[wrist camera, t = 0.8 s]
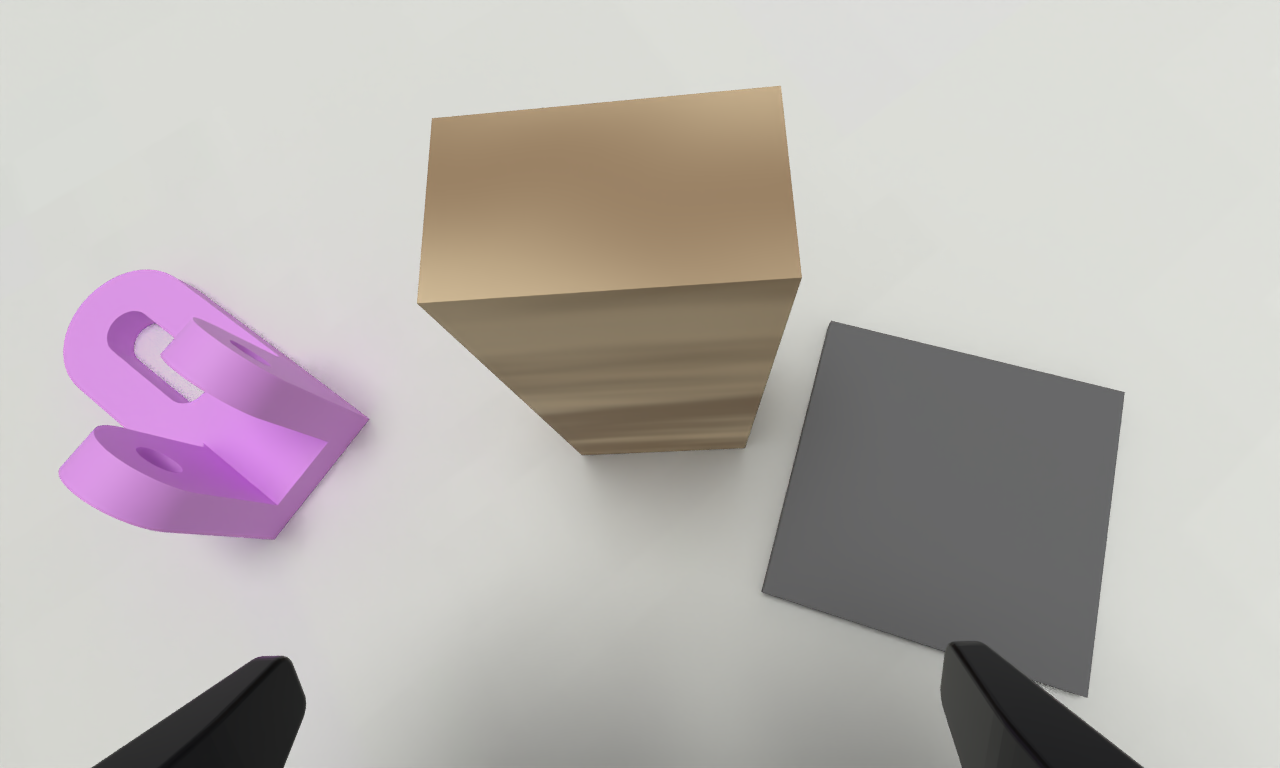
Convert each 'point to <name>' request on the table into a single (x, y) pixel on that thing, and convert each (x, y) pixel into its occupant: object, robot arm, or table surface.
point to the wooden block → (618, 261)
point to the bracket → (196, 416)
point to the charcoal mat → (952, 502)
